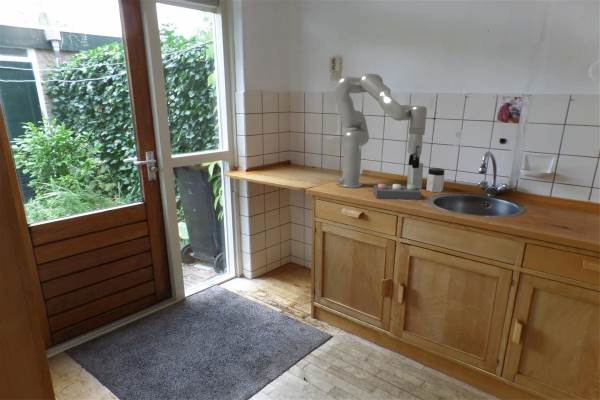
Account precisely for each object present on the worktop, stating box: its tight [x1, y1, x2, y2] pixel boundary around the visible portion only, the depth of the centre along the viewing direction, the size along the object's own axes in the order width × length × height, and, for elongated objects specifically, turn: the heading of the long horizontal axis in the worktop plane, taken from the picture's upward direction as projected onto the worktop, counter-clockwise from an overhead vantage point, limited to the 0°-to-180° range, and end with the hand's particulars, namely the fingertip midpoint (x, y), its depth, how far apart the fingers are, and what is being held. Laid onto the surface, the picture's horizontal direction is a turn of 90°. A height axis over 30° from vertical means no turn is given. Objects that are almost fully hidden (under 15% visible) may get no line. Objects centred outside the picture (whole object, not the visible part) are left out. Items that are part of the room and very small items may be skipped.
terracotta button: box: [377, 183, 388, 189], centre depth 203 cm, size 4×4×4 cm
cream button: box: [392, 183, 402, 190], centre depth 203 cm, size 4×4×4 cm
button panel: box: [373, 184, 422, 201], centre depth 203 cm, size 22×12×4 cm, turn 87°
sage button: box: [406, 184, 416, 190], centre depth 203 cm, size 4×4×4 cm
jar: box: [425, 167, 445, 193], centre depth 216 cm, size 9×8×12 cm
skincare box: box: [406, 161, 424, 190], centre depth 222 cm, size 8×6×15 cm
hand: (413, 166), depth 200 cm, fingers open, 7 cm apart
